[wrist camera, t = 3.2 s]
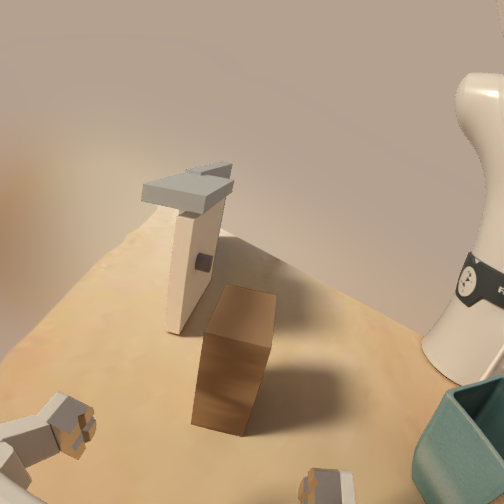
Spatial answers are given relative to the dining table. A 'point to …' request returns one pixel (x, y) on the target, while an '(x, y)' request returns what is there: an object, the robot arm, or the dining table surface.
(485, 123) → the robot arm
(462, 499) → the flower pot
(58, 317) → the dining table surface
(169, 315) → the door panel
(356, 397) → the dining table surface
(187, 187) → the wall
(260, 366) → the walnut block
